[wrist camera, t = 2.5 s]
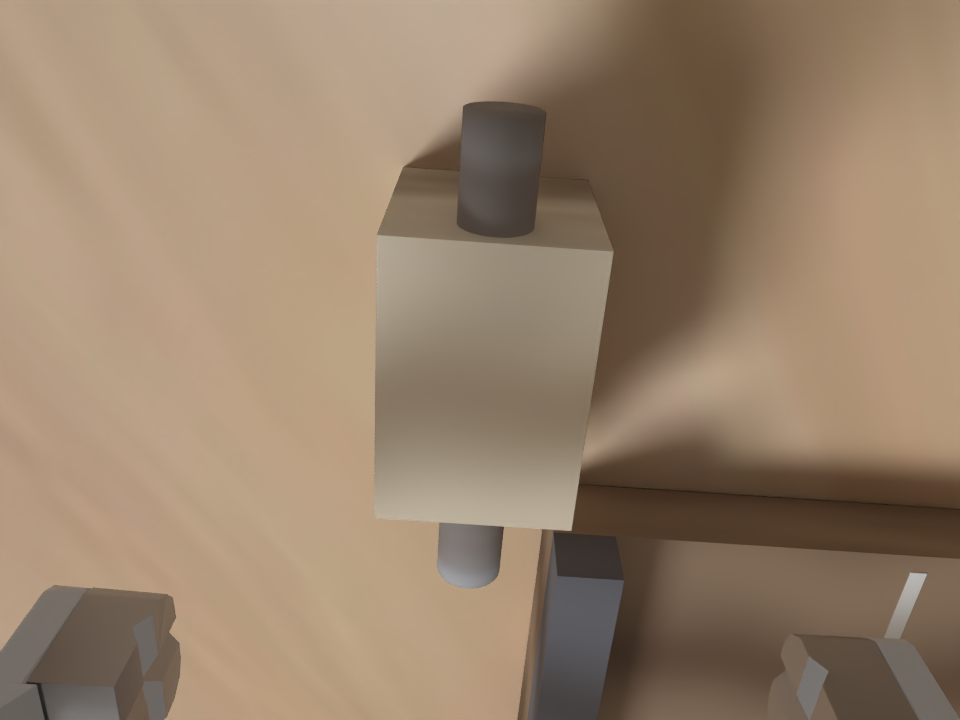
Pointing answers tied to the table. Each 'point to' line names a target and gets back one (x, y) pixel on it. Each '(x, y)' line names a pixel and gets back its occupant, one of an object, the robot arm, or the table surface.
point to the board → (726, 599)
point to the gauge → (486, 341)
